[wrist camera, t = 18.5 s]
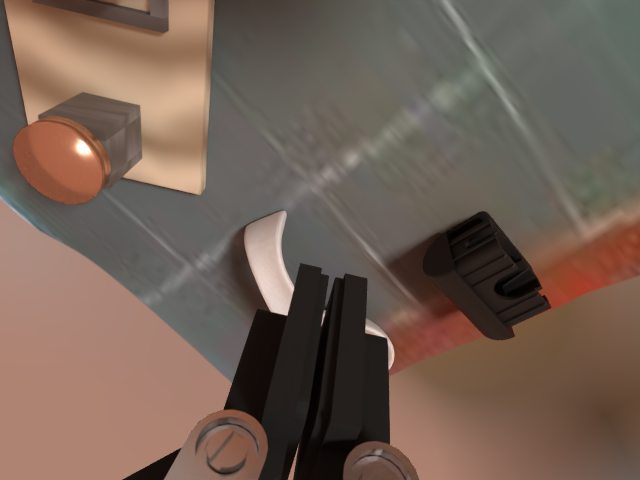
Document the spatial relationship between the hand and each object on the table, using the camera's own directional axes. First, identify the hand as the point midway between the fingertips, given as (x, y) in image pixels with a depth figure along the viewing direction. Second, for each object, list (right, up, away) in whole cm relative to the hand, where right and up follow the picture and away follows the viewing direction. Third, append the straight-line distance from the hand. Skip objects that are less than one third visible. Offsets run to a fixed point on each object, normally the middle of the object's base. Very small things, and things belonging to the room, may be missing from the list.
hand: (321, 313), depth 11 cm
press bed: (-16, +20, +24) cm, 35 cm away
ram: (-18, +11, +27) cm, 35 cm away
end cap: (+16, 0, +34) cm, 37 cm away
